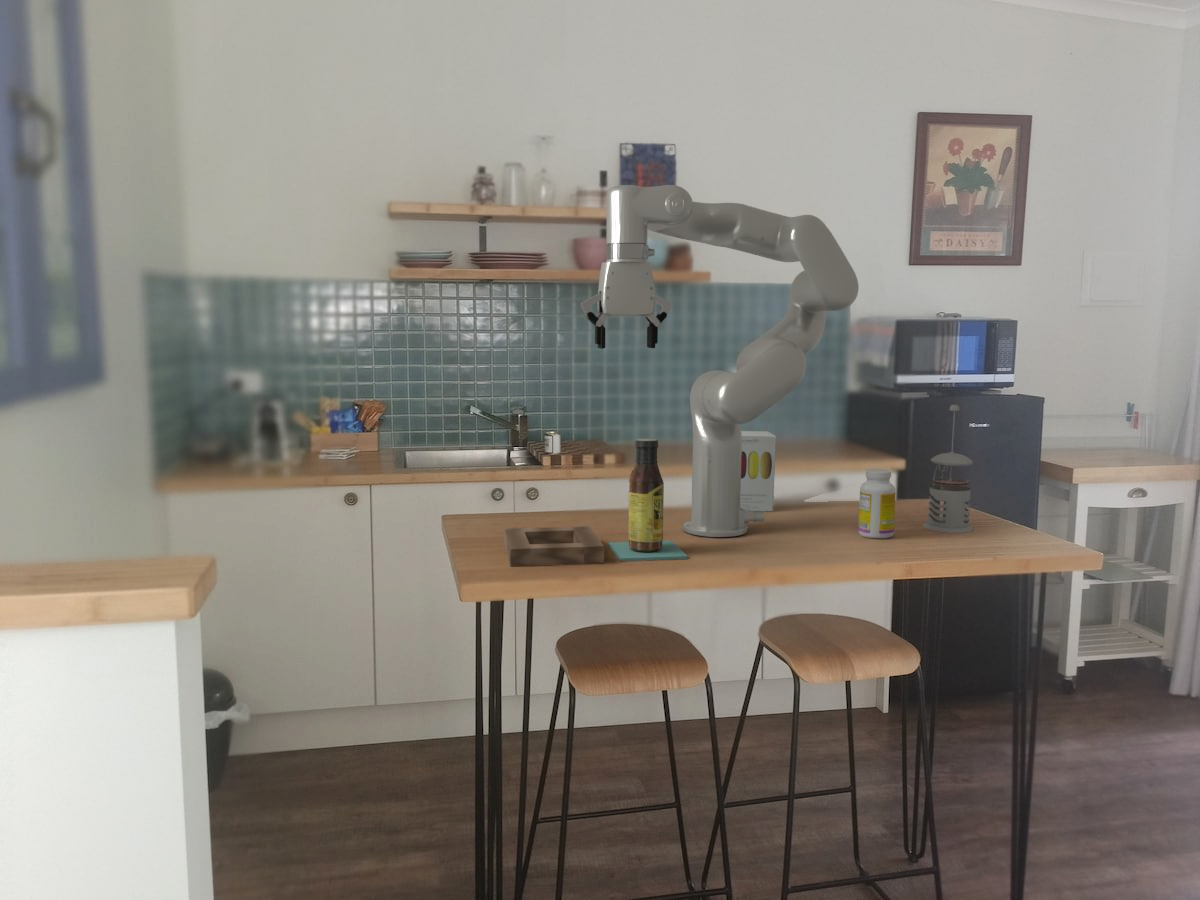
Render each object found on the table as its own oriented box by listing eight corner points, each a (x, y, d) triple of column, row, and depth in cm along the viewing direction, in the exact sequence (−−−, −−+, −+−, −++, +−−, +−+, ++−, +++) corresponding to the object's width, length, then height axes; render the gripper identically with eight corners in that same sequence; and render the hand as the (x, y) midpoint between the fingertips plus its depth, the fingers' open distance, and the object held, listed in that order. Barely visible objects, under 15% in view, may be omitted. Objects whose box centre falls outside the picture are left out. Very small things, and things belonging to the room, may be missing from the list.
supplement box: (730, 512, 213) (732, 435, 210) (724, 503, 222) (725, 430, 219) (774, 512, 213) (777, 435, 211) (766, 503, 222) (768, 430, 220)
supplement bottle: (896, 534, 192) (899, 469, 190) (890, 541, 186) (894, 474, 184) (861, 530, 195) (864, 466, 193) (855, 537, 189) (858, 471, 187)
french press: (932, 532, 193) (939, 406, 190) (912, 520, 205) (918, 401, 202) (981, 532, 194) (989, 407, 190) (958, 520, 205) (965, 401, 202)
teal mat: (671, 543, 183) (671, 540, 183) (687, 558, 171) (687, 556, 171) (608, 545, 181) (608, 542, 181) (620, 561, 169) (620, 558, 169)
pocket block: (589, 541, 184) (589, 526, 183) (604, 563, 168) (604, 546, 167) (504, 544, 181) (504, 528, 181) (510, 566, 165) (510, 549, 165)
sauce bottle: (660, 554, 172) (661, 442, 170) (625, 552, 174) (626, 441, 171) (665, 545, 179) (666, 437, 176) (631, 543, 180) (632, 436, 177)
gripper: (665, 256, 186) (664, 347, 189) (576, 255, 182) (576, 347, 185) (677, 254, 179) (676, 348, 182) (585, 253, 175) (585, 349, 177)
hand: (626, 348), depth 183 cm, fingers open, 9 cm apart
